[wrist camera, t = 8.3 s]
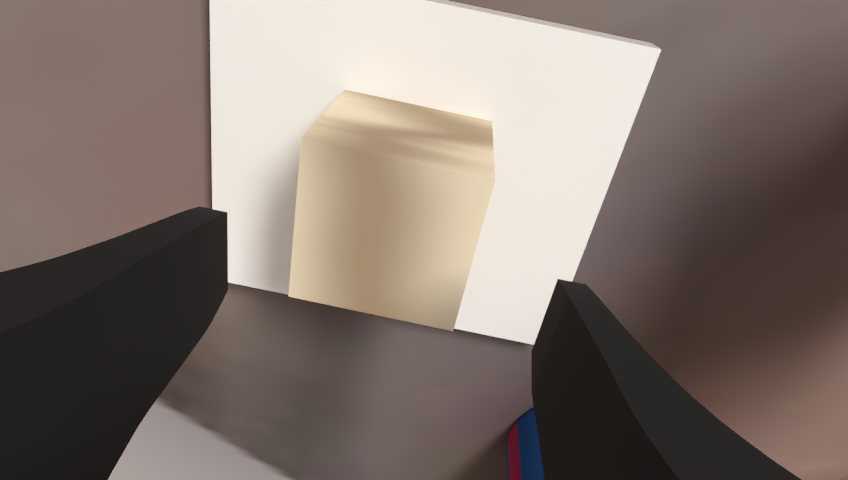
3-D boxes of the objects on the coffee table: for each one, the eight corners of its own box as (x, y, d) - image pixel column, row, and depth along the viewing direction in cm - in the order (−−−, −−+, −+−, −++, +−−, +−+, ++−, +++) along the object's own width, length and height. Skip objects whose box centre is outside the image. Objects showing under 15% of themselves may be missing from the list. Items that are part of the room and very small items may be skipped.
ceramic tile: (650, 42, 18) (661, 49, 17) (544, 329, 24) (546, 347, 22) (225, -47, 18) (208, -46, 16) (225, 263, 23) (213, 279, 22)
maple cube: (491, 121, 18) (495, 179, 14) (459, 247, 21) (452, 331, 16) (344, 89, 18) (301, 137, 14) (329, 220, 21) (288, 296, 16)
